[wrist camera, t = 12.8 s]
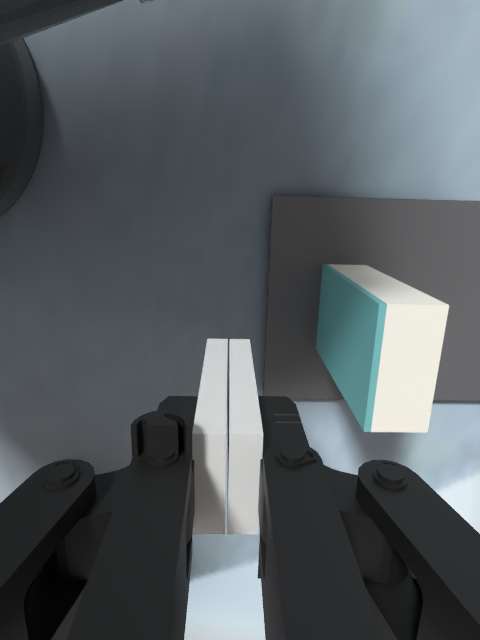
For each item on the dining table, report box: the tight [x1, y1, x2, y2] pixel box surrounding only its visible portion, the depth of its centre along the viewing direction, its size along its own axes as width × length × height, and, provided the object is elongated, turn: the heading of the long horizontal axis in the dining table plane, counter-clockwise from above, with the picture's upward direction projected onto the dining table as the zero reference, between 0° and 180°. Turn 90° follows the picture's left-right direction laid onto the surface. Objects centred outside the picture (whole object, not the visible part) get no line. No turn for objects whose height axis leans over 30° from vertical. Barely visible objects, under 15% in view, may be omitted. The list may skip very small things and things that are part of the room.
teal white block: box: [316, 264, 449, 432], centre depth 21 cm, size 3×6×10 cm, turn 179°
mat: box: [263, 196, 480, 401], centre depth 27 cm, size 17×13×1 cm
